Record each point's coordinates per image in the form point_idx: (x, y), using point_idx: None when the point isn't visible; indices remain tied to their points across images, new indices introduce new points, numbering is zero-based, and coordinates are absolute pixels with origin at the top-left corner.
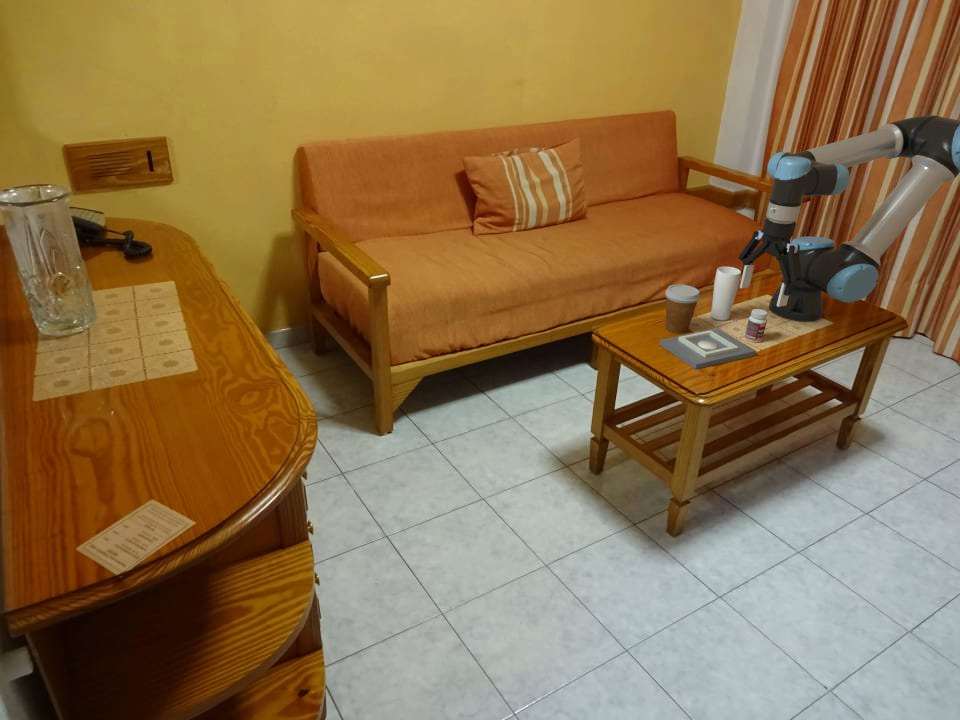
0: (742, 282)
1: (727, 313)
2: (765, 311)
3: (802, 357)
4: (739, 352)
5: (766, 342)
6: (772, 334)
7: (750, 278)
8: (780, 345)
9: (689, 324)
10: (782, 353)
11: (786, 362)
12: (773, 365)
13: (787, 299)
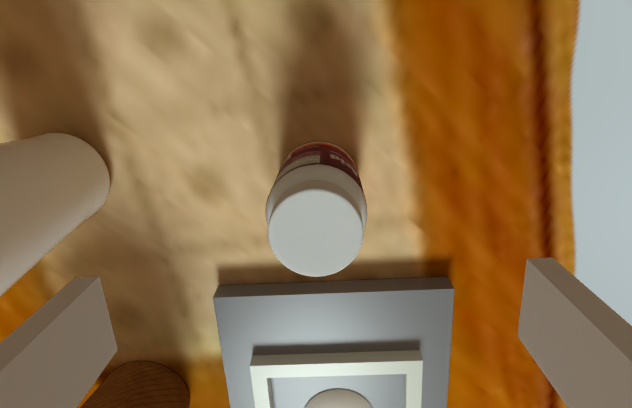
0: (84, 387)
1: (92, 184)
2: (323, 195)
3: (558, 93)
4: (436, 354)
5: (368, 144)
6: (306, 48)
7: (48, 336)
8: (419, 102)
9: (172, 401)
10: (484, 154)
11: (552, 198)
12: None
13: (585, 290)
